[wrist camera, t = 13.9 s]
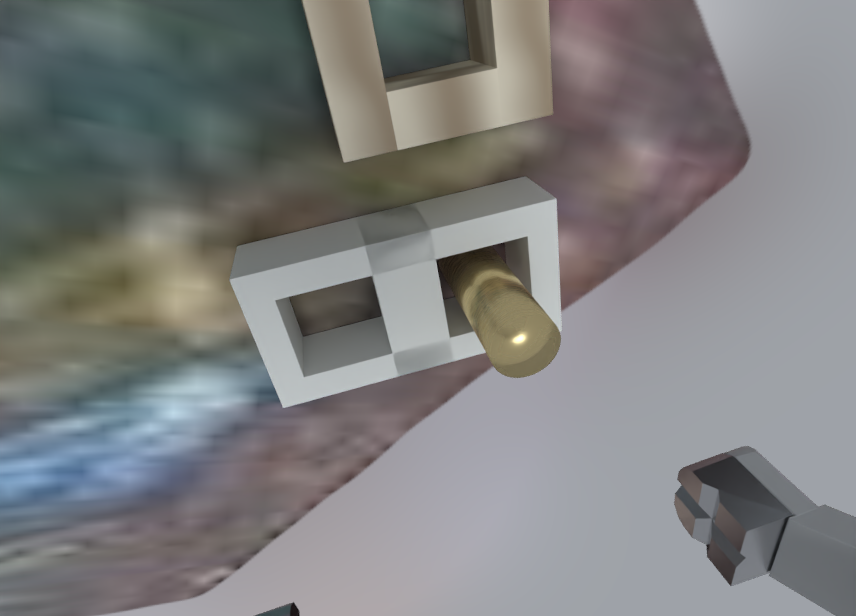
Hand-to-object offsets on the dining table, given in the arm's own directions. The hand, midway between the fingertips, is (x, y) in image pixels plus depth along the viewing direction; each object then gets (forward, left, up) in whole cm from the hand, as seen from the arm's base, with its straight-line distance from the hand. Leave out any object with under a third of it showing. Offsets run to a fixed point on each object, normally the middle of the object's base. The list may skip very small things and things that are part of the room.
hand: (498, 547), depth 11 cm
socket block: (+5, +8, -27) cm, 29 cm away
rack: (+1, -8, -27) cm, 28 cm away
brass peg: (+6, -8, -28) cm, 29 cm away
